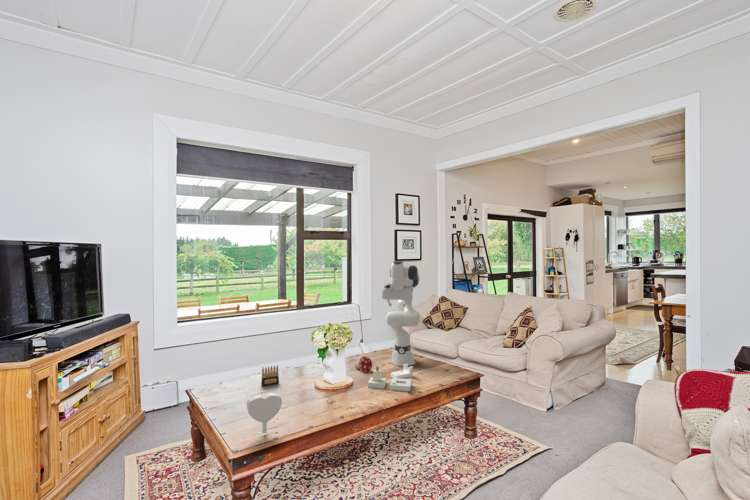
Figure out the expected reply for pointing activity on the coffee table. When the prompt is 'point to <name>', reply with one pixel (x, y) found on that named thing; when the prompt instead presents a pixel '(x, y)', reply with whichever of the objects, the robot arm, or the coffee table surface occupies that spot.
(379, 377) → the plug
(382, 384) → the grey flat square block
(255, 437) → the coffee table surface
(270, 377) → the ammunition clip
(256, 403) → the heart sculpture
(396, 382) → the port
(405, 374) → the bracket
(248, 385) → the coffee table surface
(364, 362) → the dark red lumpy cluster
